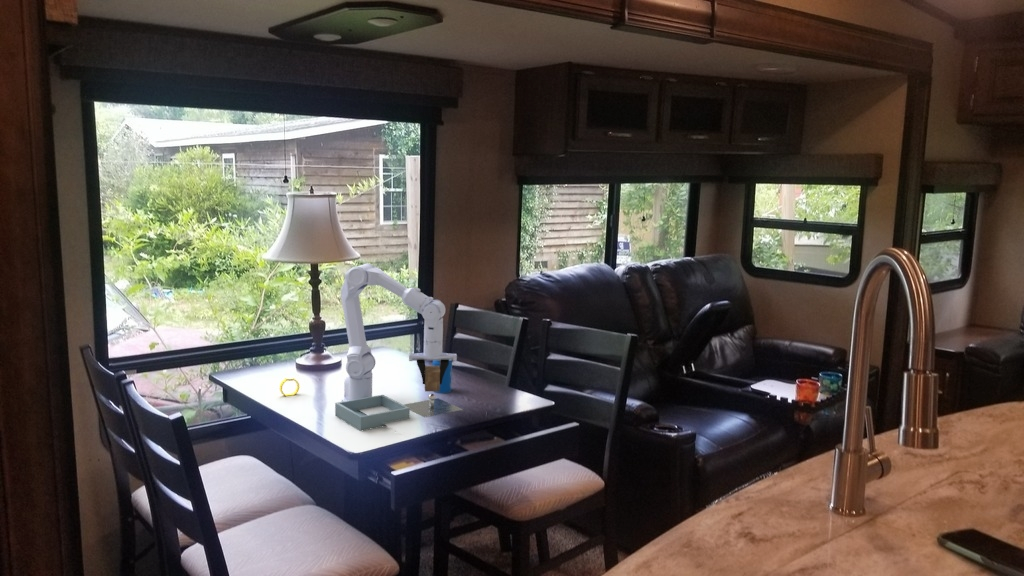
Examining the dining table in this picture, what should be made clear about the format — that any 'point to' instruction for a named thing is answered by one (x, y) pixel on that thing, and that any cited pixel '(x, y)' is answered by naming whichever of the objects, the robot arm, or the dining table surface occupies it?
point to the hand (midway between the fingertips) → (432, 383)
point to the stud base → (432, 407)
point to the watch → (289, 380)
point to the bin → (363, 421)
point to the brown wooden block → (432, 378)
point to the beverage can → (445, 378)
